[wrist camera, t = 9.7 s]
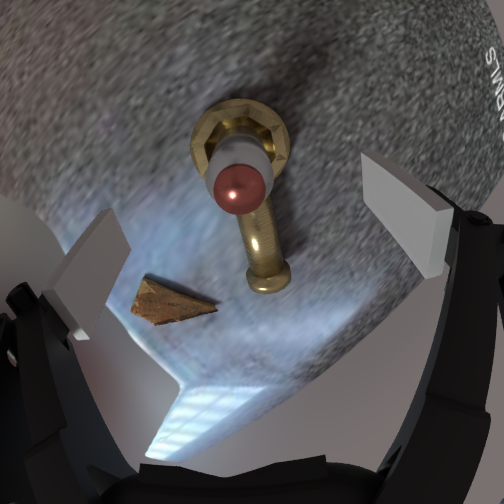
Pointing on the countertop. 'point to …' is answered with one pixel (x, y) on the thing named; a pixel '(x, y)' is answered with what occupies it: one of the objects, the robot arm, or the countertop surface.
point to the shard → (166, 304)
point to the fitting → (263, 219)
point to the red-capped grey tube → (239, 171)
